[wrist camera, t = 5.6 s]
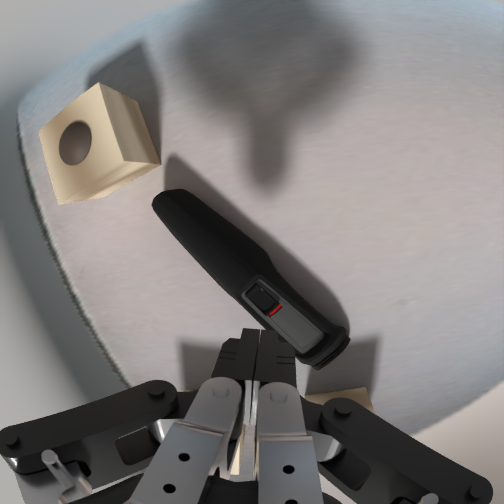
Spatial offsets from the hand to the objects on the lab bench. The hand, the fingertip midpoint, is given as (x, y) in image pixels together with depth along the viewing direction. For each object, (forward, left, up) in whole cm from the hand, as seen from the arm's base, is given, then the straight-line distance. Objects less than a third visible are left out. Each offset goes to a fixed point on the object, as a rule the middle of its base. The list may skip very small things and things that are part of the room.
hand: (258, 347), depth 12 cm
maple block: (+10, -9, -7) cm, 15 cm away
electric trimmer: (0, 0, -7) cm, 7 cm away
